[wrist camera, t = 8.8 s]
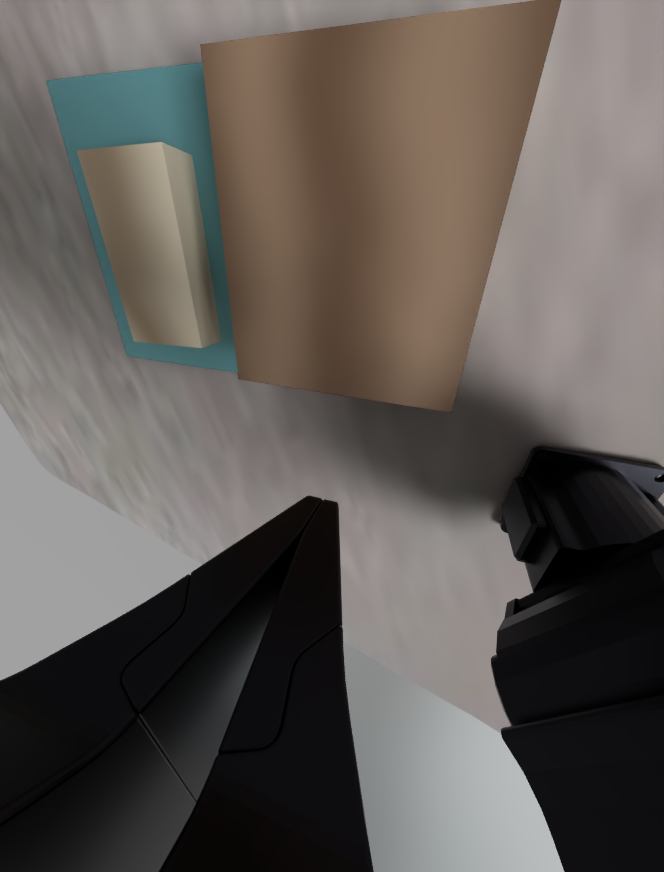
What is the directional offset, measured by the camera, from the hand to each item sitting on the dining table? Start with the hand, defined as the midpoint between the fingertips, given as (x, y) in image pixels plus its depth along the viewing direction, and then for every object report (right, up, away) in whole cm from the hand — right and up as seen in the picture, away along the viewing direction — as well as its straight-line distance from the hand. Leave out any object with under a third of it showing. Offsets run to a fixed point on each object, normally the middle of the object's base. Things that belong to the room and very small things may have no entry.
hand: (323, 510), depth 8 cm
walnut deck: (+2, +11, +7) cm, 14 cm away
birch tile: (-10, +11, +8) cm, 17 cm away
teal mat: (-9, +13, +10) cm, 19 cm away
